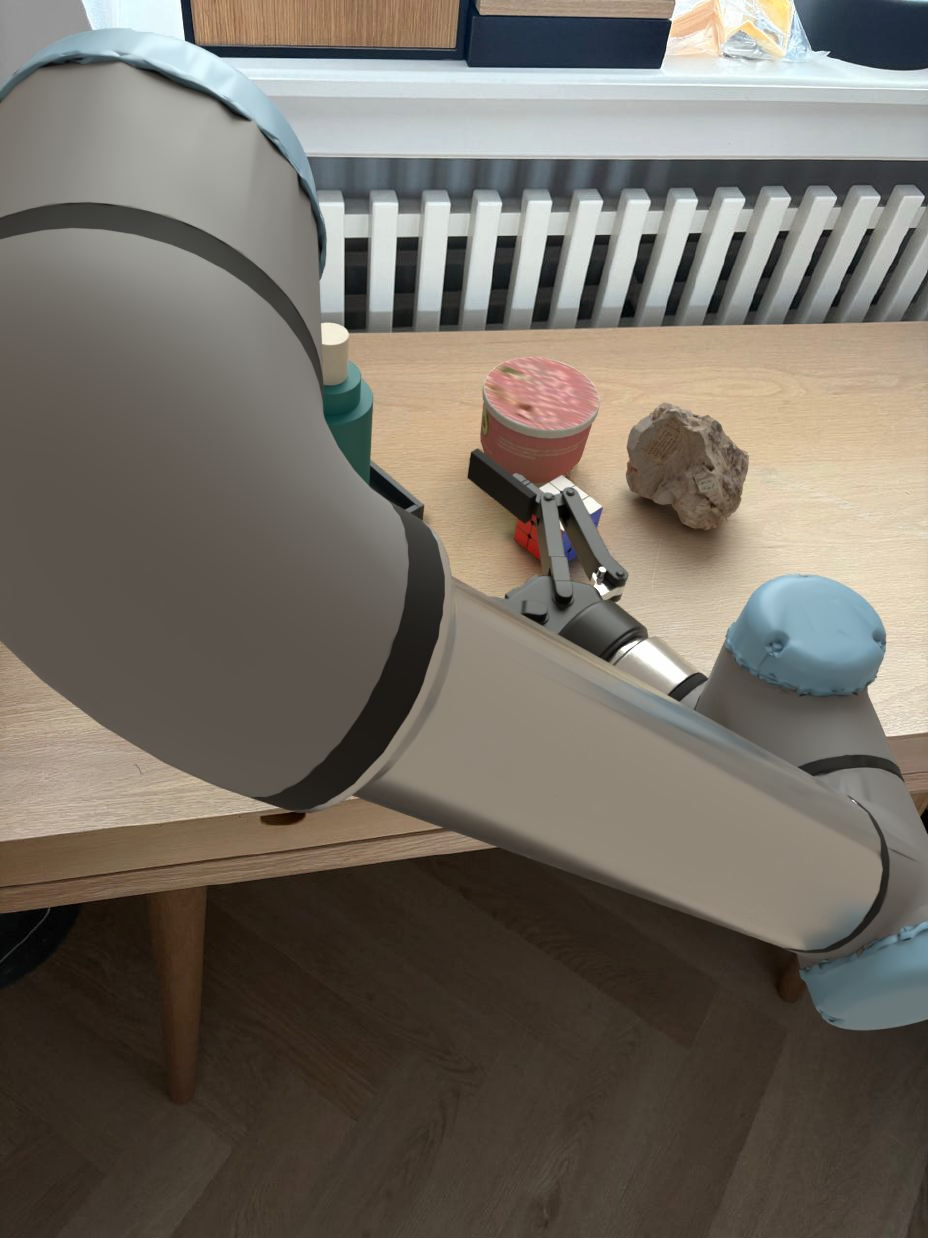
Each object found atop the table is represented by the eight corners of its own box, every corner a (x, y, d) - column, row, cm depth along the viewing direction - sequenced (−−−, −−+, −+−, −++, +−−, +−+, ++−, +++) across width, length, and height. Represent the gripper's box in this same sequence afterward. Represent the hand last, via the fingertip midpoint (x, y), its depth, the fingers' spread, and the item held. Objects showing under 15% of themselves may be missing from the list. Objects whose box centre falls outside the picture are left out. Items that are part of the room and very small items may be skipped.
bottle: (321, 556, 86) (321, 373, 71) (272, 510, 88) (263, 326, 74) (383, 521, 89) (395, 340, 75) (334, 478, 92) (337, 296, 78)
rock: (700, 567, 94) (786, 493, 90) (626, 512, 87) (717, 429, 83) (661, 507, 100) (740, 436, 97) (589, 451, 93) (672, 371, 89)
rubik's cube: (512, 538, 90) (521, 497, 86) (552, 514, 92) (562, 473, 89) (552, 572, 88) (562, 531, 84) (592, 547, 90) (604, 507, 87)
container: (502, 410, 101) (514, 342, 95) (599, 450, 99) (617, 383, 93) (453, 470, 95) (462, 401, 89) (555, 514, 93) (572, 446, 86)
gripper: (475, 809, 65) (274, 608, 74) (712, 622, 78) (515, 469, 86) (490, 745, 59) (270, 536, 68) (743, 554, 72) (529, 398, 81)
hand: (407, 498), depth 77 cm, fingers open, 13 cm apart
